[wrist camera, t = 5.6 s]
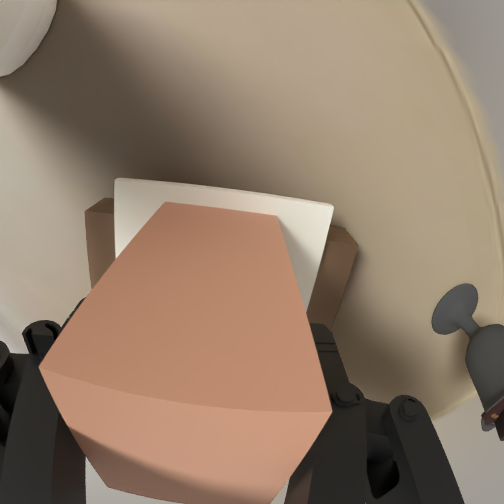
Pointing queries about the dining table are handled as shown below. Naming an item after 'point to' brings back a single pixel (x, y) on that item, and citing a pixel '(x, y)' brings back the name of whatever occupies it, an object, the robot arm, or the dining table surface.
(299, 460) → the stub
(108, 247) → the board
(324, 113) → the dining table surface
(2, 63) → the bottle
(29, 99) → the dining table surface
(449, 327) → the sundae
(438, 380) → the dining table surface
